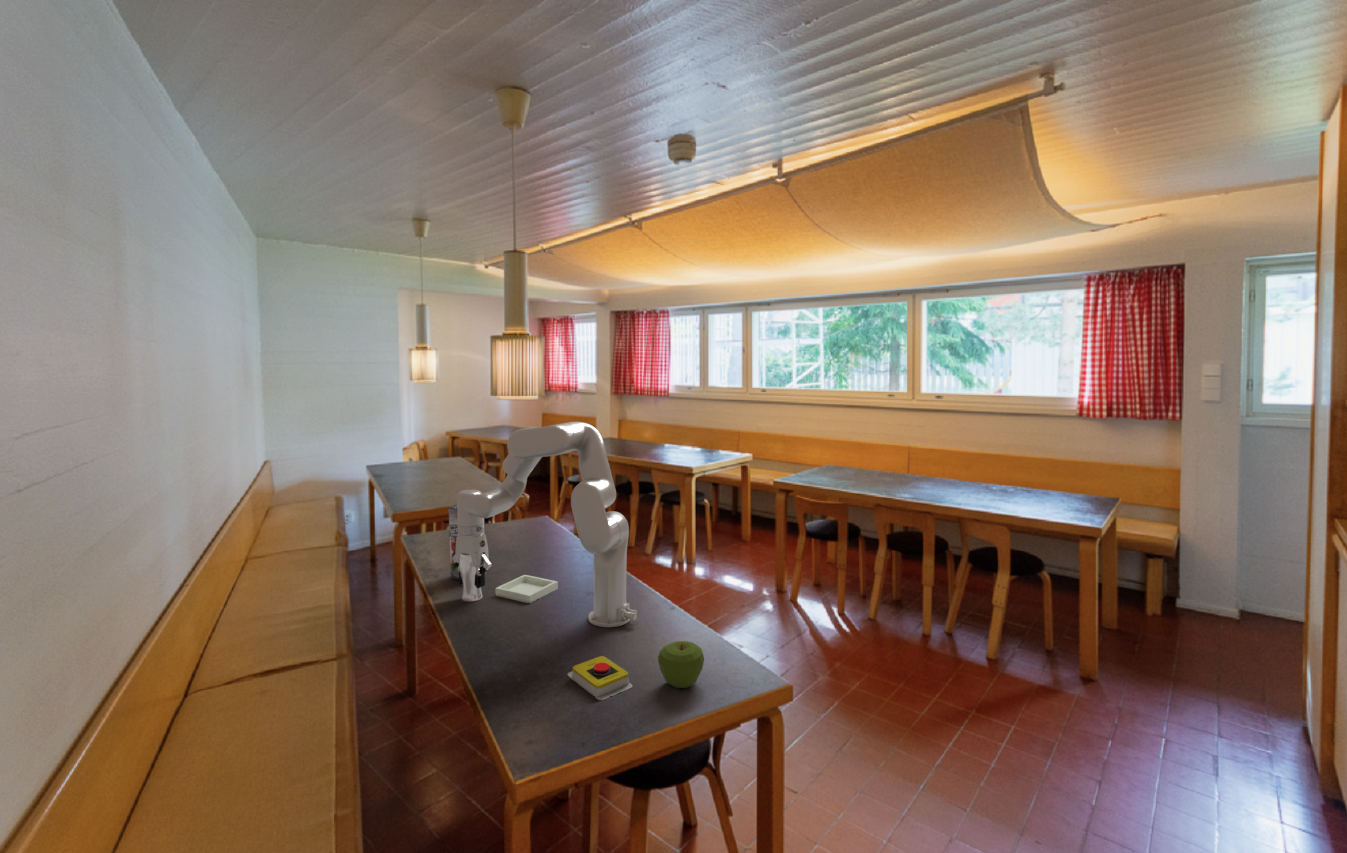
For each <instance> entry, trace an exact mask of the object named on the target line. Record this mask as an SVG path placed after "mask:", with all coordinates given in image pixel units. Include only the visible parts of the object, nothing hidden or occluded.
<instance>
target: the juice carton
mask: <svg viewBox="0 0 1347 853" xmlns="http://www.w3.org/2000/svg"><path fill="white" fill-rule="evenodd" d="M448 525H449V528H448V529H449V530H448V531H449V532H448V533H449V559H450V560H449V561H450V562H449V563H450V564H449V565H450V578H451V579H452V580H455V581H459V572H458V571H457V569H458V568H457V567H456V565H455V563H454V561H453V560H452V557H453V556H454V555H455V554H456V538H457V534H458V515H457V503H456V504H453V505H451V506H449V507H448ZM483 528H484V529H485V518H483ZM483 533H484V534H485V531H484V532H483ZM484 566H485V564H484Z"/></svg>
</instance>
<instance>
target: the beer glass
mask: <svg viewBox="0 0 1347 853" xmlns="http://www.w3.org/2000/svg"><path fill="white" fill-rule="evenodd" d="M481 564H482V561H481V563H480V565H481ZM479 569H480V570H481V569H482V568H481V567H479ZM460 573H461V578H462V583H463V584H462V588H463V591H462V598H461V599H462V602H463V601H464V602H468V603H469V602H472V603H473V602H476V601H477V602H478V601H479V600H481V599H483V598H484V597H483V593H482V591H483V590H482V587H480V588H476V576H477V572H476V567H474V566H473V563H472V559H471V555H463V554H461V553H460Z"/></svg>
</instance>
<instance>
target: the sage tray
mask: <svg viewBox="0 0 1347 853" xmlns="http://www.w3.org/2000/svg"><path fill="white" fill-rule="evenodd" d="M558 584H559V581H556V580H553V579H547V578H543V577H539V576H534V575H529V574H528V575H527V574H523V575H521V576H519V577H517V578H514V579H512V580H510V581H507V582H506V583H503V584H501V585H499V586H497V587H495V596H496V597H500V598H504V599H509V600H514V601H516V602H522V603H527V604H529V603H530V604H532V603H534V602H536V601H537V599H538V600H539V599H542V598H543V597H546V596H547V595H549V594H551V593H552V592H553V593H554V591H557V590H558V589H559V585H558Z"/></svg>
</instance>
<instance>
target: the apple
mask: <svg viewBox="0 0 1347 853" xmlns="http://www.w3.org/2000/svg"><path fill="white" fill-rule="evenodd" d="M657 662H658V665H659V670H660V672H661V674H662V676H663V679H664V681H666V683H668V684H669V685H670V686H672V687H673V688H675V687H676V688H675V689H679V688H684V689H687V688H689V687H690V686H692V685H695V683H697V680H698V678H699V676H700V675H701V672H702V670H703V666H704V663H705V657H704V653H703V649H702V647H700V646H699V645H697V644H696V643H694V642H691V641H686V640H678V641H673V642H669V643H668V644H666V645H664V646H662V648H661V650H660V651H659V653H658V656H657Z"/></svg>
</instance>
